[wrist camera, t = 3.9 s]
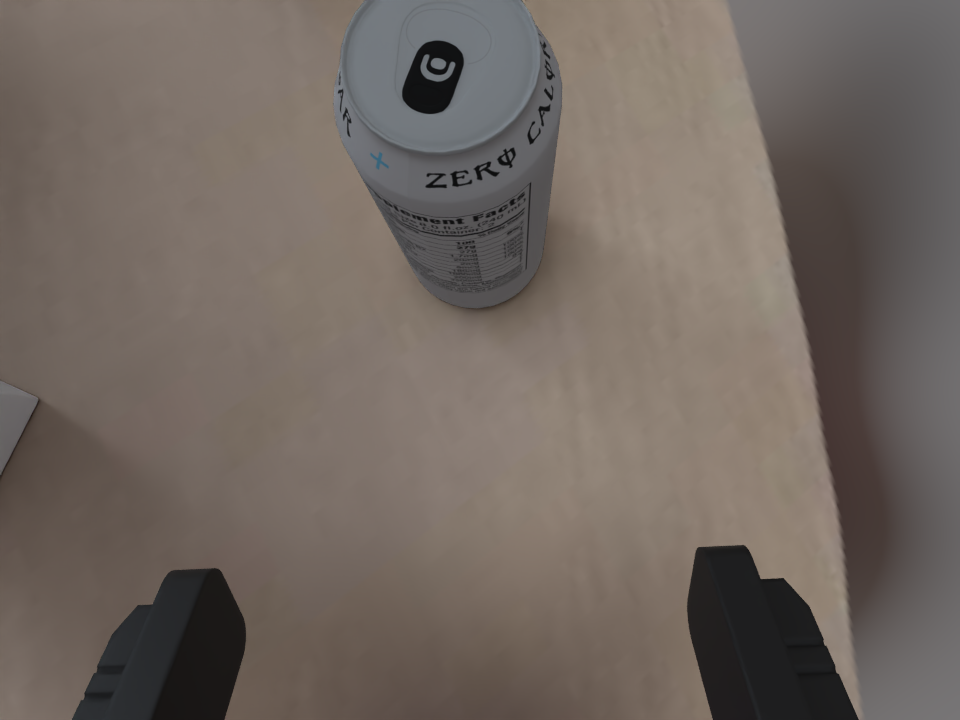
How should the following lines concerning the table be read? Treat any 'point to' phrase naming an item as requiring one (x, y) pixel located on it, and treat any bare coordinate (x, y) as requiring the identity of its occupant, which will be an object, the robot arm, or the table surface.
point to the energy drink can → (454, 137)
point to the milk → (13, 418)
